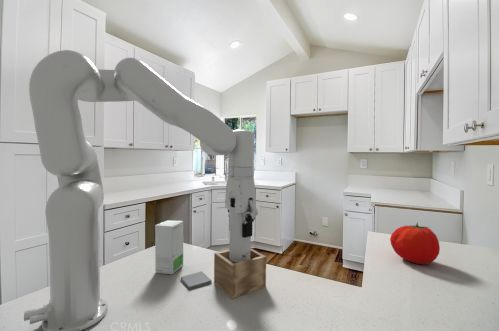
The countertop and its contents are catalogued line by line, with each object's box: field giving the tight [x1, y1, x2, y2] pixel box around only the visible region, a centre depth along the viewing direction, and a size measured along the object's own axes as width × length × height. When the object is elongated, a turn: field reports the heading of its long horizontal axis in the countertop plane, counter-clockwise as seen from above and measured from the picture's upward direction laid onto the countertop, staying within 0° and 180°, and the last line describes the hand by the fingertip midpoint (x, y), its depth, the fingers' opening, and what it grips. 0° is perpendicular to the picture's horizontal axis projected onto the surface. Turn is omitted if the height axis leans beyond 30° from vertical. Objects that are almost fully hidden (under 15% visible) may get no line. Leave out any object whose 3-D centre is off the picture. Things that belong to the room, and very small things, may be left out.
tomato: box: [389, 222, 441, 265], centre depth 94 cm, size 16×14×14 cm
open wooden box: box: [213, 248, 267, 299], centre depth 75 cm, size 12×10×9 cm
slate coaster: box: [180, 271, 212, 290], centre depth 77 cm, size 7×7×1 cm
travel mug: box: [228, 198, 252, 263], centre depth 75 cm, size 6×7×20 cm
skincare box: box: [154, 219, 184, 275], centre depth 85 cm, size 8×7×16 cm
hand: (240, 233), depth 75 cm, fingers closed on travel mug, 6 cm apart
